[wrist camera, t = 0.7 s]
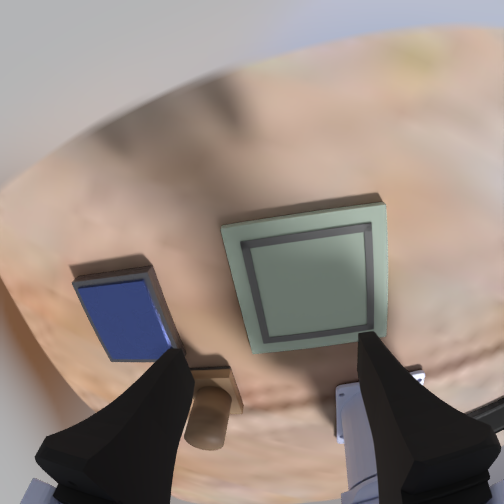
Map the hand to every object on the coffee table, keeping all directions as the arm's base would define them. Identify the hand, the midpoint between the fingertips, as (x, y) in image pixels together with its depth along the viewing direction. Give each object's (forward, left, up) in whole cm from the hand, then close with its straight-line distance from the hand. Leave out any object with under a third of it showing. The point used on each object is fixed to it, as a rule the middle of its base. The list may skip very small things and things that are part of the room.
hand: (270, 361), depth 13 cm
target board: (-2, -2, -9) cm, 10 cm away
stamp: (-11, +7, -9) cm, 16 cm away
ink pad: (-3, +12, -9) cm, 15 cm away
